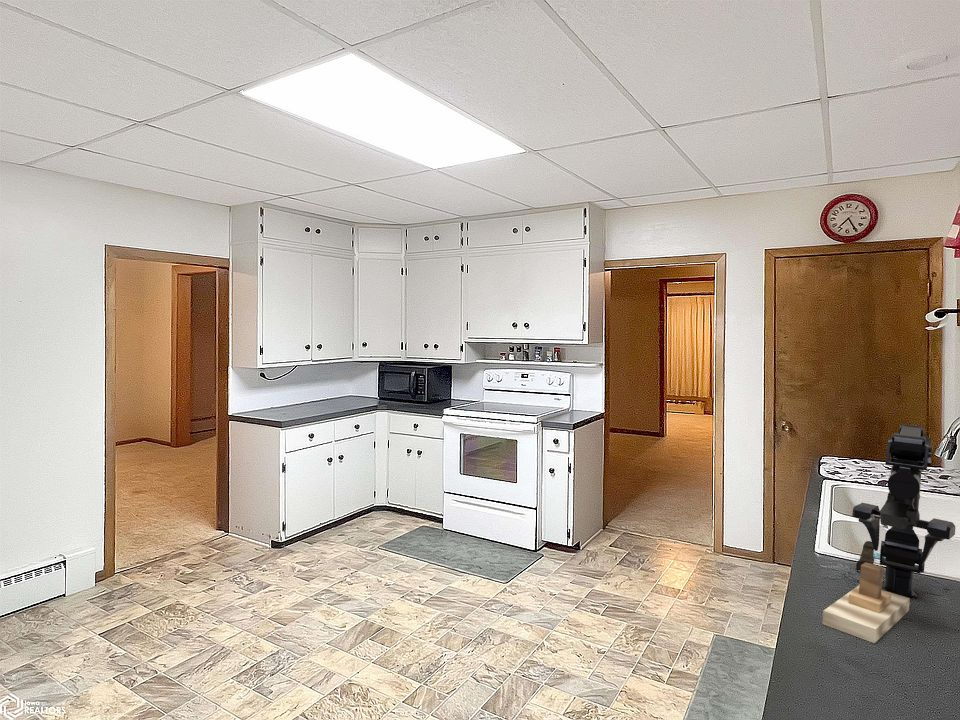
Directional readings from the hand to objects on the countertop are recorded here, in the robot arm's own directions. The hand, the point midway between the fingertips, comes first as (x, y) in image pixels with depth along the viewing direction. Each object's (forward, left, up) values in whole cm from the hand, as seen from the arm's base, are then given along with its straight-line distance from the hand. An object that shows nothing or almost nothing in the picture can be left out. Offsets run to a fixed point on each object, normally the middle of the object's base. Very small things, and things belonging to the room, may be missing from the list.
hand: (899, 556), depth 140 cm
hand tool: (-32, 0, -14) cm, 35 cm away
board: (+6, -7, -13) cm, 16 cm away
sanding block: (+5, -6, -10) cm, 13 cm away
